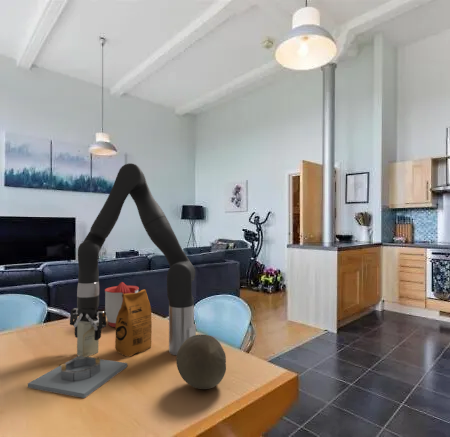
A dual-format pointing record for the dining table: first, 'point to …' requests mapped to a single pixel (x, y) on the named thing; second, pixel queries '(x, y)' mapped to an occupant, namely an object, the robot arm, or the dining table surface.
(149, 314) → the coffee package
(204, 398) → the dining table surface
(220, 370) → the dark grey round ball
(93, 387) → the board
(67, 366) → the collar
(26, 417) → the dining table surface
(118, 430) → the dining table surface
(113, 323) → the citrus juicer
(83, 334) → the skincare box
